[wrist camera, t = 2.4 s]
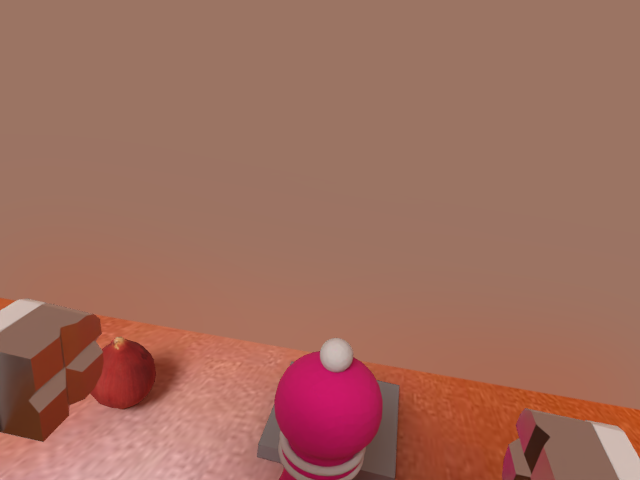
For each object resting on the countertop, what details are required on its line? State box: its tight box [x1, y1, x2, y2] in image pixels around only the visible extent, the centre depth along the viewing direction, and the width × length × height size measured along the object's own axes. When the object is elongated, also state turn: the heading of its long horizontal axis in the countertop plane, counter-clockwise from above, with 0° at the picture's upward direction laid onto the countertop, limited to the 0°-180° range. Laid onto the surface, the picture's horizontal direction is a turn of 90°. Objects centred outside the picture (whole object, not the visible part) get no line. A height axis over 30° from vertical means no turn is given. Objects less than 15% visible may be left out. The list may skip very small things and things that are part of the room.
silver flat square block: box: [257, 362, 399, 480], centre depth 45 cm, size 12×12×2 cm
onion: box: [90, 337, 156, 409], centre depth 43 cm, size 6×6×8 cm
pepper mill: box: [275, 338, 383, 480], centre depth 28 cm, size 7×7×20 cm
